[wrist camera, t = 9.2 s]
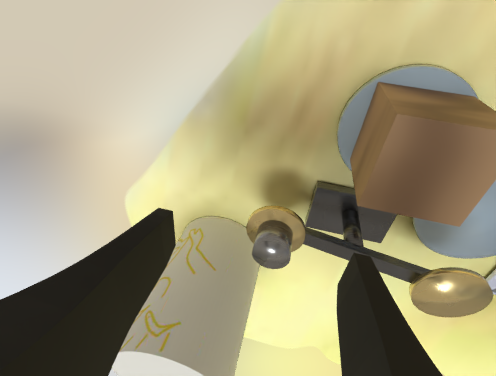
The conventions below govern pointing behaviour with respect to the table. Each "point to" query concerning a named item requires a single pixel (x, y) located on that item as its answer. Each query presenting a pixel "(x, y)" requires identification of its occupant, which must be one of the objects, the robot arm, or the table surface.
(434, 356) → the table surface
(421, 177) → the block
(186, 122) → the table surface
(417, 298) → the balance
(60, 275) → the robot arm
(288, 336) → the table surface
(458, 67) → the table surface
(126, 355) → the cup
